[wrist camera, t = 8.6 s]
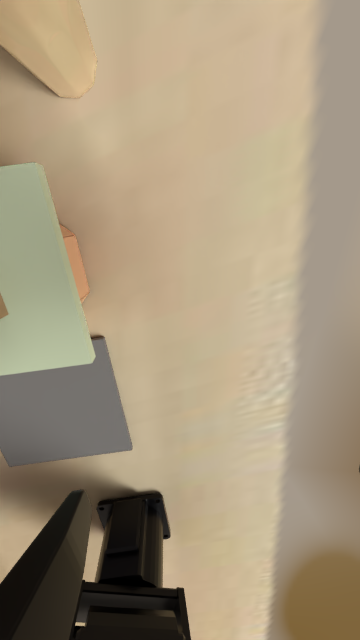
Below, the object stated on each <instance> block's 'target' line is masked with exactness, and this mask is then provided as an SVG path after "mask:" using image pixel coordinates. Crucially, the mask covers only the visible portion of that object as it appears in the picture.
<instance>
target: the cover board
mask: <svg viewBox="0 0 360 640" xmlns="http://www.w3.org/2000/svg"><path fill="white" fill-rule="evenodd" d="M95 357H96V356H95V352H94V348H93V345H92V341H91V338H90V334H89V330H88V327H87V323H86V319H85V316H84V312H83V309H82V305H81V301H80V298H79V294H78V291H77V287H76V283H75V280H74V276H73V272H72V269H71V265H70V262H69V258H68V254H67V251H66V247H65V244H64V240H63V236H62V233H61V229H60V225H59V222H58V218H57V215H56V211H55V207H54V204H53V200H52V197H51V193H50V189H49V186H48V182H47V178H46V175H45V171H44V168H43V166H42V165H40V164H38V163H36V162H31V163H24V164H16V165H9V166H1V167H0V376H2V375H9V374H17V373H24V372H31V371H39V370H46V369H54V368H61V367H69V366H76V365H84V364H91V363H93V361H94V359H95Z"/></svg>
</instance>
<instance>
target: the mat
mask: <svg viewBox="0 0 360 640" xmlns="http://www.w3.org/2000/svg"><path fill="white" fill-rule="evenodd" d="M91 341H92V345H93V348H94V352H95V356H96V357H95V359H94V361H93V363H91V364H84V365H76V366H69V367H61V368H54V369H46V370H39V371H31V372H24V373H17V374H9V375H2V376H0V450H1V452H2V454H3V456H4V457H5V459H6V461H7V463H8V465H9V467H12V466H19V465H26V464H34V463H41V462H48V461H56V460H63V459H70V458H78V457H85V456H92V455H100V454H107V453H114V452H121V451H129V450H132V443H131V439H130V435H129V431H128V427H127V423H126V419H125V415H124V411H123V408H122V404H121V400H120V396H119V392H118V388H117V384H116V380H115V376H114V373H113V369H112V365H111V361H110V357H109V353H108V349H107V345H106V341H105V337H100V338H93V339H91Z"/></svg>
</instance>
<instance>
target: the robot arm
mask: <svg viewBox="0 0 360 640" xmlns="http://www.w3.org/2000/svg"><path fill="white" fill-rule="evenodd" d="M359 472H360V466H359ZM97 512H98V514H99V517H100V520H101V522H102V525H103V528H104V531H105V532H104V537H103V542H102V547H101V552H100V557H99V562H98V567H97V572H96V577H95V582H85V580H82V578H83V573H84V567H85V560H86V553H87V546H88V538H89V531H90V524H91V517H92V506H91V503H90V500H89V497H88V495H87V492H86V491H85V490H76V491H72V492H71V493H70V494H69V495H68V497H67V498H66V499H65V501H64V502H63V503H62V504H61V506H60V507H59V508H58V510H57V511H56V512H55V514H54V515H53V516H52V517H51V519H50V520H49V521H48V523H47V524H46V525H45V527H44V528H43V529H42V530H41V532H40V533H39V534H38V536H37V537H36V538H35V539H34V541H33V542H32V543H31V545H30V546H29V547H28V549H27V550H26V551H25V552H24V554H23V555H22V556H21V558H20V559H19V560H18V562H17V563H16V564H15V565H14V567H13V568H12V569H11V571H10V572H9V573H8V575H7V576H6V577H5V578H4V580H3V581H2V582H1V584H0V640H191V637H190V630H189V622H188V615H187V608H186V601H185V594H184V588H179V587H177V589H172V588H163V539H168V538H170V527H169V522H168V518H167V513H166V509H165V504H164V500H163V496H162V495H161V494H151V495H144V496H137V497H129V498H122V499H115V500H107V501H101V502H99V503H98V505H97ZM76 622H83V623H85V626H75V623H76Z"/></svg>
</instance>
